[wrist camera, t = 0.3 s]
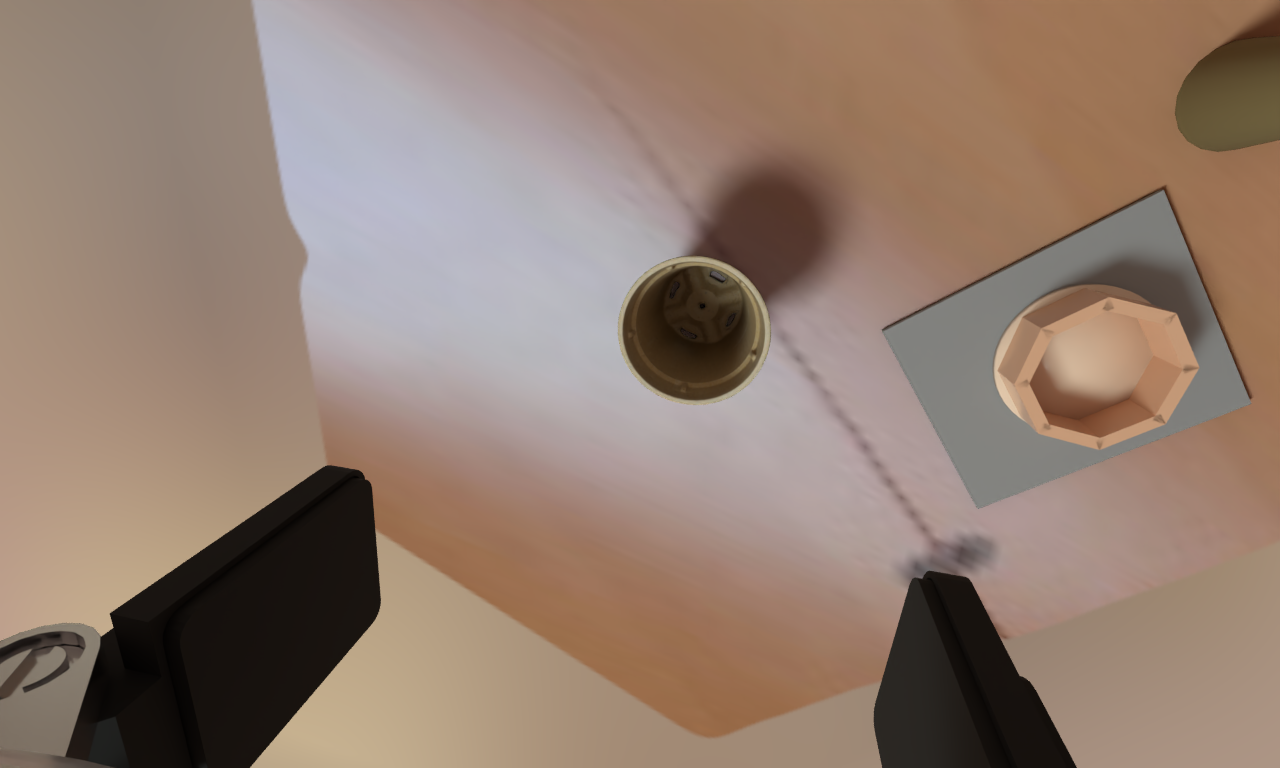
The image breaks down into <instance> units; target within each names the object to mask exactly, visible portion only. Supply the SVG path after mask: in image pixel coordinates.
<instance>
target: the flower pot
mask: <svg viewBox="0 0 1280 768" xmlns="http://www.w3.org/2000/svg"><path fill="white" fill-rule="evenodd" d="M712 271H716V272H718V273H719V274H720V275H721V276H723V277H724V278H725V279H726V280H725V281H724V282H723V283H722V282H720V281H718V280H716V279H715V278H712V277H710V273H711V272H712ZM675 282H677V283H679V285H680V286H679V288H678V289H677V291H676V293H675V295H674V297H673V298H670V295H671V290H672V287H673V285H674V283H675ZM700 304H705V308H703V309H701V308H700ZM732 313H734V314H736V315H735V317H734V319H733V321H732V323H731V324H730V325H729V326H726V324H727V322H728V317H731V315H732ZM682 328H683V329H684V330H686V331H688V332H690V333H692V334H695V335H696V338H689V337H687V336H685V335H683V333H682V332H681V329H682ZM618 337H619V344H620V349H621V352H622V355H623V358H624V360H625V362H626V364H627V366H628V367H629V369H630V371H631V372H632V374H633V375H634V376H635V377H636V378H637V380H638V381H639V382H640V383H641V384H642V385H644V386H645V387H646V388H647V389H649V390H650V391H652V392H653V393H655V394H656V395H658V396H661V397H663V398H665V399H667V400H670V401H673V402H677V403H682V404H688V405H702V404H703V405H705V404H710V403H715V402H719V401H722V400H725V399H727V398H729V397H732V396H733V395H735V394H737V393H738V392H740V391H741V390H742V389H744V388H745V387H746V386H747V385H748V384H749V383H750V382H751V381H752V380H753V379H754V378H755V377H756V375H757V374H758V372H759V371H760V369H761V368H762V366H763V363H764V361H765V359H766V356H767V354H768V350H769V346H770V340H771V326H770V318H769V314H768V310H767V307H766V304H765V302H764V300H763V298H762V296H761V294H760V293H759V291H758V290H757V288H756V287H755V286H754V284H753V283H752V282H751V281H750V280H749V279H748V278H747V277H746V276H745V275H744V274H743V273H741V272H740V271H739V270H737V269H736V268H734V267H733V266H731V265H729V264H727V263H725V262H723V261H720V260H717V259H713V258H709V257H704V256H683V257H677V258H673V259H670V260H667V261H664V262H662V263H660V264H658V265H656V266H654V267H653V268H651V269H650V270H648V271H647V272H645V273H644V274H643V275H642V276H641V277H640V278H639V279H638V280H637V281H636V282H635V284H634V285H633V286H632V287H631V289H630V291H629V292H628V294H627V296H626V298H625V300H624V302H623V305H622V307H621V311H620V315H619V321H618Z"/></svg>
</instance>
